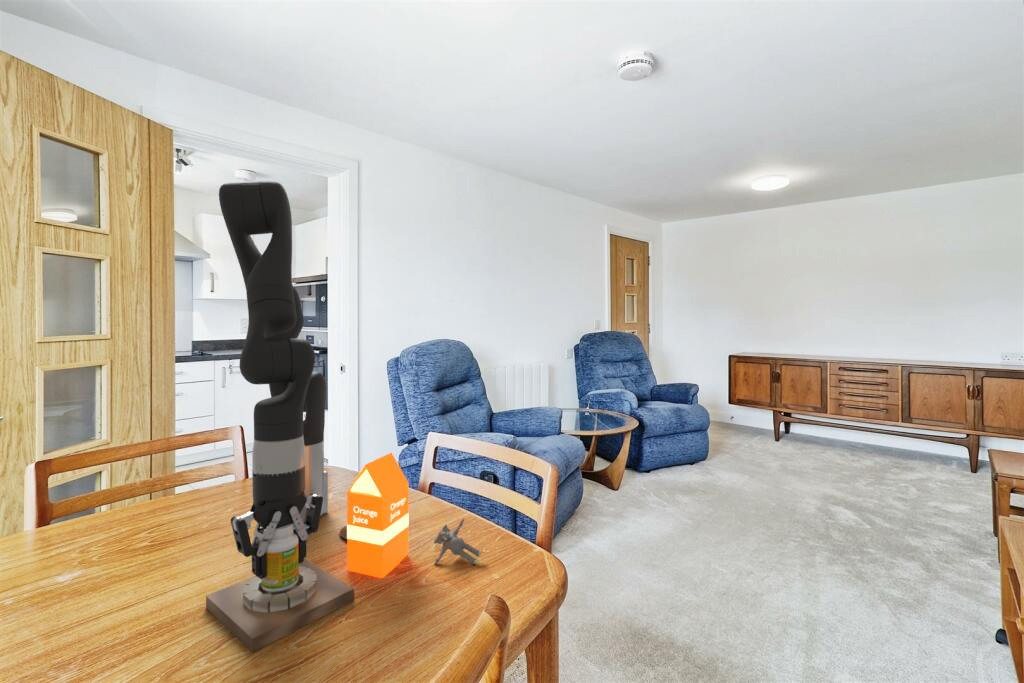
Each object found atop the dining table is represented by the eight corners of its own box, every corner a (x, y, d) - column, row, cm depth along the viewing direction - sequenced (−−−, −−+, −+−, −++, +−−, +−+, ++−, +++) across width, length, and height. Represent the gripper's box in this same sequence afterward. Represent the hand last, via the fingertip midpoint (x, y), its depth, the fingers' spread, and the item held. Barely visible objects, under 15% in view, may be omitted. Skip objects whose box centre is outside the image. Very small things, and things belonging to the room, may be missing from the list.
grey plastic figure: (463, 579, 87) (421, 552, 90) (464, 588, 92) (425, 563, 94) (492, 530, 93) (452, 507, 96) (492, 541, 97) (454, 518, 100)
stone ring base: (302, 567, 90) (302, 549, 89) (354, 600, 80) (354, 579, 80) (206, 607, 77) (205, 586, 77) (252, 652, 67) (252, 628, 67)
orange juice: (409, 555, 95) (409, 454, 94) (382, 578, 86) (383, 467, 85) (374, 548, 97) (375, 449, 96) (346, 570, 89) (345, 462, 88)
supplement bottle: (284, 595, 75) (283, 533, 74) (253, 590, 76) (252, 529, 76) (305, 577, 80) (305, 519, 80) (276, 573, 81) (276, 515, 81)
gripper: (309, 450, 85) (310, 545, 86) (219, 470, 74) (221, 579, 75) (333, 459, 80) (333, 559, 81) (241, 481, 69) (243, 597, 70)
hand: (279, 568), depth 78 cm, fingers closed on supplement bottle, 5 cm apart
